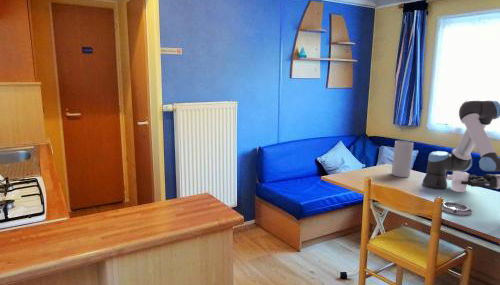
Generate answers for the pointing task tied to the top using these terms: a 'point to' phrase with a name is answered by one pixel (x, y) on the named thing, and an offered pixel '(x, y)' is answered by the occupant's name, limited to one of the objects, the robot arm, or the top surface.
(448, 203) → the rosette plate
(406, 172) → the cylinder vase
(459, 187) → the white cup
